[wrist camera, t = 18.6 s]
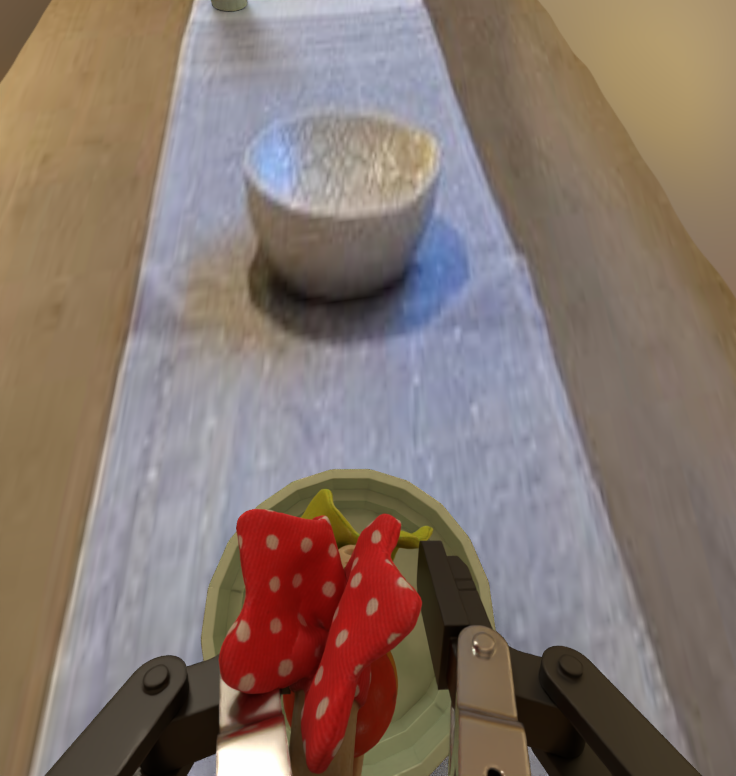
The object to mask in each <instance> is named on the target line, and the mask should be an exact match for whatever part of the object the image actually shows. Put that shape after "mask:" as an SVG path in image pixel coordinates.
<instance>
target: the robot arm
mask: <svg viewBox="0 0 736 776" xmlns="http://www.w3.org/2000/svg"><path fill="white" fill-rule="evenodd" d="M417 593H418V594H419V596H420V597H421V600H422V607H421V613H422V618H423V623H424V627H425V632H426V636H427V641H428V646H429V650H430V655H431V660H432V664H433V669H434V674H435V678H436V683H437V688H438V690H449V694H450V698H451V708H450V726H449V760H448V776H531V770H530V763H529V755H528V748H527V746H529V747H531V749H532V751H533V752H534V754H535V756H536V757H537V759H538V760H539V761H540V763H541V764H542V766H543V767H544V769H545V770H546V772H547V773H548V775H549V776H702V775H701V774H700V773H699V772H698V771H697V770H696V769H695V768H694V767H693V766H692V765H691V764H690V763H689V762H688V761H687V760H686V759H685V758H684V757H683V756H682V755H681V754H680V753H679V752H678V751H677V750H676V749H675V748H674V747H673V745H672V744H671V743H670V742H669V741H668V740H667V739H666V738H665V737H664V736H663V735H662V734H661V733H660V732H659V731H658V730H657V729H656V728H655V727H654V726H653V725H652V724H651V723H650V722H649V721H648V720H647V719H646V718H645V717H644V716H643V715H642V714H641V713H640V712H639V711H638V710H637V709H636V708H635V707H634V705H633V704H632V703H631V702H630V701H629V700H628V699H627V698H626V697H625V696H624V695H623V694H622V693H621V692H620V691H619V690H618V689H617V688H616V687H615V686H614V685H613V684H612V683H611V682H610V681H609V680H608V679H607V678H606V677H605V676H604V675H603V674H602V673H601V672H600V671H599V670H598V669H597V668H596V666H595V665H594V664H593V663H592V662H591V661H590V660H589V659H587V658H586V657H585V656H584V655H582V654H581V653H579V652H578V651H576V650H574V649H571V648H568V647H565V646H552V647H549V648H548V649H546V650H545V651H544V653H543V655H542V657H539V656H535V655H532V654H528V653H524V652H521V651H518V650H516V649H513V648H511V647H510V646H508V644H507V642H506V640H505V639H504V638H503V637H502V636H501V635H500V634H499V633H498V632H496V631H495V630H493V628H492V626H491V623H490V621H489V618H488V616H487V613H486V611H485V608H484V606H483V603H482V601H481V598H480V596H479V593H478V591H477V589H476V586H475V583H474V581H473V578H472V576H471V573H470V571H469V568H468V566H467V565H466V564H465V563H464V562H463V561H462V560H461V559H460V558H459V557H458V556H447V555H446V552H445V549H444V546H443V543H442V541H441V540H433V541H420V542H419V551H418V565H417ZM219 655H220V654H218V655H217V656H215V657H213V658H211V659H208V660H206V661H203V662H200V663H196V664H193V665H190V666H186V664H185V662H184V661H183V660H182V659H181V658H179V657H177V656H172V655H166V656H160V657H157V658H154V659H152V660H150V661H148V662H146V663H145V664H143V665H142V666H141V667H139V668H138V669H137V670H136V671H135V672H134V673H133V674H132V676H131V677H130V678H129V679H128V680H127V681H126V683H125V684H124V685H123V686H122V687H121V688H120V689H119V691H118V692H117V693H116V694H115V695H114V696H113V698H112V699H111V700H110V701H109V702H108V703H107V704H106V706H105V707H104V708H103V709H102V710H101V711H100V712H99V714H98V715H97V716H96V717H95V718H94V719H93V721H92V722H91V723H90V724H89V725H88V726H87V727H86V729H85V730H84V731H83V732H82V733H81V734H80V736H79V737H78V738H77V739H76V740H75V741H74V742H73V744H72V745H71V746H70V747H69V748H68V749H67V750H66V752H65V753H64V754H63V755H62V756H61V757H60V759H59V760H58V761H57V762H56V763H55V764H54V765H53V767H52V768H51V769H50V770H49V771H48V772H47V774H46V775H45V776H187V774H188V773H189V771H190V769H191V768H192V766H193V764H194V762H196V761H199V760H201V759H204V758H206V757H208V756H211V755H213V754H216V776H292V770H291V763H290V755H289V748H288V740H287V733H286V725H285V718H284V714H283V713H282V706H281V695H285V694H291V690H290V689H289V686H288V687H286V688H282V689H279V687H278V688H276V689H274V690H272V691H270V692H266V693H259V694H246V693H243V692H241V691H238V690H235V689H233V688H231V687H229V686H228V685H227V684H226V683H225V682H224V681H223V680H222V677H221V673H220V667H219Z"/></svg>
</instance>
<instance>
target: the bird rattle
mask: <svg viewBox="0 0 736 776" xmlns="http://www.w3.org/2000/svg"><path fill="white" fill-rule="evenodd" d="M236 530H237V537H238V544H239V550H240V562H241V568H242V575H243V580H244V584H245V589H246V594H245V600H244V604H243V608H242V610H241V612H240V614H239V616H238V618H237V619H236V621H235V622H234V623H233V625H232V626H231V628H230V629H229V631H228V633H227V635H226V637H225V639H224V642H223V644H222V646H221V650H220V655H219V667H220V673H221V677H222V680H223V681H224V682H225V683H226V684H227V685H228V686H229V687H231V688H233V689H235V690H238V691H241V692H243V693H246V694H259V693H266V692H270V691H272V690H274V689H276V688H278V687H279V689H282V688H286V687H288V686H289V689H290V690H291V694H285V695H283V703H284V710H285V713H286V717H287V721H288V723H289V725H290V728H291V734H290V745H289V755H290V763H291V770H292V776H361V773H362V767H363V760H364V754H365V753H366V752H368V751H369V750H370V749H372V748H373V747H374V746H375V745H376V744H377V743H378V742H379V741H380V739H381V738H382V736H383V735H384V733H385V732H386V730H387V729H388V727H389V725H390V722H391V720H392V717H393V714H394V711H395V706H396V699H397V693H398V676H397V670H396V665H395V661H394V658H393V656H392V653H391V650H392V649H394V648H395V647H396V646H397V645H398V644H399V643H400V642H401V641H402V640H403V639H404V638H405V637H406V636H407V635H409V634H410V632H411V631H412V630H413V629H414V627H415V625H416V623H417V620H418V617H419V615H420V612H421V607H422V600H421V597H420V596H419V594H418V593H417V592H416V590H415V589H414V587H413V586H411V585H410V584H409V583H408V582H407V581H406V579H405V578H404V576H403V575H402V574H401V573H400V571H399V570H398V568H397V567H396V565H395V564H394V563H393V561H394V558H395V555H396V553H397V551H398V549H399V548H403V549H417V548H419V542H420V541H427V540H428V539H429V538H430V537H431V535H432V533H433V528H432V527H429V526H423V527H421V528H419V529H418V530H417V531H416V532H414V533H408V532H405V531H401V522H400V521H399V520H398V519H396V518H394V517H393V516H391V515H389V514H381V515H379V516H378V517H377V518H376V519H375V520H374V521H373V522H371V523H370V524H369V525H368V526H367V527H366V528H365V529H364V530H363V531H362V532H361V534H358V533H357V532H356V531H355V530H354V529H353V527H352V526H351V525H350V524H349V522H348V521H347V520H346V518H345V517H344V516H343V515H342V514H341V512H340V511H339V510H338V509H337V508H336V507H335V506H334V503H333V494H332V492H331V491H330V490H329V489H321V490H320V491H319V492H318V493H317V494H316V495H315V497H314V498H313V499H312V501H311V502H310V503H309V505H308V507H307V508H306V510H305V512H304V514H303V515H302V517H296V516H292V515H288V514H284V513H281V512H280V513H279V512H275V511H272V510H267V509H252V510H249V511H246V512H245V513H243V514H242V515H241V516H240V517H239V518H238V521H237V526H236Z"/></svg>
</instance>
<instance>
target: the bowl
mask: <svg viewBox="0 0 736 776" xmlns="http://www.w3.org/2000/svg"><path fill="white" fill-rule="evenodd" d="M321 489H329V490H330V491H331V492H332V494H333V503H334V506H335V507H336V508H337V509H338V510H339V511H340V512H341V514H342V515H343V516H344V517H345V518H346V520H347V521H348V522H349V524H350V525H351V526H352V527H353V529H354V530H355V531H356V532H357V533H358V534H361V532H362V531H363V530H364V529H365V528H366V527H367V526H368V525H369V524H370V523H371V522H373V521H374V520H375V519H376V518H377V517H378V516H379V515H381V514H389V515H391V516H393V517H394V518H396V519H398V520H399V521H400V522H401V531H405V532H408V533H414V532H416V531H417V530H418V529H419V528H421V527H423V526H429V527H432V528H433V533H432V535H431V537H430V538H429V539H428V540H427V541H433V540H441V541H442V543H443V546H444V549H445V552H446V555H447V556H458V557H459V558H460V559H461V560H462V561H463V562H464V563H465V564H466V565H467V566H468V568H469V571H470V573H471V576H472V578H473V581H474V583H475V586H476V589H477V591H478V593H479V596H480V598H481V601H482V603H483V606H484V608H485V611H486V613H487V616H488V618H489V621H490V623H491V626H492V628H493V630H495V623H494V616H493V609H492V602H491V594H490V587H489V582H488V579H487V577H486V575H485V572H484V570H483V568H482V565H481V563H480V561H479V558H478V556H477V554H476V551H475V549H474V547H473V544H472V542H471V540H470V539H469V537H468V535H467V534H466V533H465V532H464V531H463V529H462V528H461V527H460V526H459V524H458V523H457V522H456V521H455V519H454V518H453V517H452V516H451V515H450V513H449V512H448V511H447V510H446V508H445V507H444V506H443V505H442V504H441V503H440V502H438V501H437V500H435V499H434V498H432V497H431V496H429V495H428V494H426V493H425V492H423V491H422V490H421V489H419V488H418V487H416V486H415V485H413V484H412V483H410V482H408V481H407V480H403V479H400V478H397V477H394V476H391V475H387V474H384V473H381V472H378V471H374V470H370V469H332V470H328V471H325V472H321V473H318V474H315V475H312V476H309V477H306V478H303V479H299V480H296V481H294V482H291V483H290V484H289V485H287V486H286V487H284V488H283V489H281V490H280V491H278V492H277V493H275V494H274V495H273V496H271V497H270V498H268V499H267V500H265V501H264V502H262V503H261V504H259V505H258V506H257V507H256V508H255V509H267V510H272V511H275V512H279V513H280V512H281V513H284V514H288V515H292V516H296V517H302V515H303V514H304V512H305V510H306V508H307V507H308V505H309V503H310V502H311V501H312V499H313V498H314V497H315V495H316V494H317V493H318V492H319V491H320V490H321ZM418 551H419V548H417V549H403V548H399V549H398V551H397V553H396V555H395V558H394V561H393V563H394V564H395V565H396V567H397V568H398V570H399V571H400V573H401V574H402V575H403V576H404V578H405V579H406V581H407V582H408V583H409V584H410V585H411V586H413V587H414V589H415V590H416V592H417V565H418ZM245 594H246V589H245V584H244V580H243V575H242V568H241V562H240V550H239V544H238V537H237V531H236V533H235V534H234V535H233V536H232V538H231V539H230V540H229V542H228V543H227V546H226V548H225V550H224V553H223V555H222V557H221V559H220V562H219V564H218V566H217V568H216V571H215V573H214V575H213V577H212V580H211V582H210V584H209V587H208V592H207V599H206V606H205V613H204V620H203V627H202V634H201V646H202V653H203V660H204V661H206V660H208V659H211V658H213V657H215V656H217V655H218V654H220V650H221V646H222V644H223V642H224V639H225V637H226V635H227V633H228V631H229V629H230V628H231V626H232V625H233V623H234V622H235V621H236V619H237V618H238V616H239V614H240V612H241V610H242V608H243V604H244V600H245ZM495 631H496V630H495ZM391 653H392V656H393V658H394V661H395V665H396V670H397V676H398V693H397V699H396V706H395V711H394V714H393V717H392V720H391V722H390V725H389V727H388V729H387V730H386V732H385V733H384V735H383V736H382V738H381V739H380V741H379V742H378V743H377V744H376V745H375V746H374V747H373V748H372V749H370V750H369V751H368V752H366V753H365V754H364V760H363V767H362V773H361V776H429V775H430V774H431V773H432V772H433V771H434V770H435V769H436V768H437V767H438V766H439V765H440V764H441V762H442V761H443V760H444V759H445V758H446V757H447V756H448V755H449V726H450V708H451V698H450V694H449V690H438V688H437V683H436V678H435V674H434V669H433V664H432V660H431V655H430V650H429V646H428V641H427V636H426V632H425V627H424V623H423V618H422V613H421V612H420V615H419V617H418V620H417V623H416V625H415V627H414V629H413V630H412V631H411V632H410V634H409V635H407V636H406V637H405V638H404V639H403V640H402V641H401V642H400V643H399V644H398V645H397V646H396V647H395V648H394V649H392V650H391ZM281 706H282V713H283V714H284V718H285V725H286V733H287V740H288V748H289V745H290V734H291V728H290V725H289V723H288V721H287V717H286V713H285V710H284V703H283V695H281Z"/></svg>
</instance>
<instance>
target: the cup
mask: <svg viewBox="0 0 736 776" xmlns="http://www.w3.org/2000/svg"><path fill="white" fill-rule="evenodd" d="M211 2H212V5H213V6H214V7H215V8H217V9H219V10H223V11H237V10H240V9H243V8H244V7H246V5H247V0H211Z"/></svg>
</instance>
